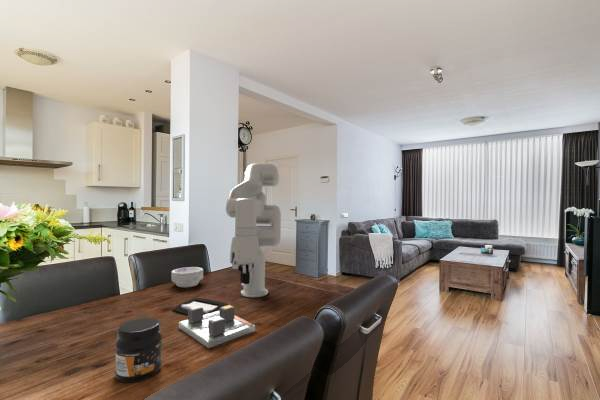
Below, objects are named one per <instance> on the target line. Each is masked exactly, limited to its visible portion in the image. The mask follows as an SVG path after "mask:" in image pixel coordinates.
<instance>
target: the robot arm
mask: <svg viewBox="0 0 600 400" xmlns="http://www.w3.org/2000/svg"><path fill="white" fill-rule="evenodd" d="M279 182H280V173H279V170H278V167H277V166H276V165H275V164H272V163H251V164H249V165H248V166H247V167H246V168H245V171H244V173H243V181H242V182H241V183H239V184H238V185H236V186H235V187H233V188H232V189H231V190H230V192H229V194H228V196H227V200H226V205H225V211H226V214H227V216H228V217H229V218H234V236H232V240H231V244H230V251H229V253H230V254H229V262H230V264H231V268H232V269H235V270H237V271H238V273H240V277H239V278H240V283H241V284H240V285H241V287H243V289H241V290H240V295H241V296H242V297H245V298H260V297H261V298H262V297H264V296H267V295H268V294H269V290H268V288H266V286H265V285H266V254H265V253H264V251H263V250H262V249H261V247H277V246H279V244H280V242H281V229H282V228H281V226H282V225H281V224H282V221H281V220H282V217H281V216H282V214H281V213H282V212H281V209H280V206H278V205H275V204H267V197H266V195H265V193H264V192H263V191H262V190H263V187H277V185H278V184H279Z"/></svg>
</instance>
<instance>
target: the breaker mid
mask: <svg viewBox="0 0 600 400" xmlns="http://www.w3.org/2000/svg"><path fill="white" fill-rule="evenodd" d="M234 315H235V307H234V306H232V305H230V304H228V305H227V306H224V307H221V308H220V317H221V318H223V319H225V322H227V321H230V320H233V319H234Z"/></svg>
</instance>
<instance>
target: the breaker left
mask: <svg viewBox="0 0 600 400" xmlns="http://www.w3.org/2000/svg"><path fill="white" fill-rule="evenodd" d="M187 320H188V321H190V322H191V323H193V322H197V321H200V320H203V308H202V307H200V306H194V307H190V308H189V309H188V316H187Z"/></svg>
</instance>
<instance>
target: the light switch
mask: <svg viewBox="0 0 600 400" xmlns="http://www.w3.org/2000/svg"><path fill="white" fill-rule="evenodd" d="M227 305H229V304H228V303H226V302H222V301H219V300H212V299H206V298H201V297H193V298H190V299H189V300H186V301H183V302H181V303H180V304H178V305H176V306H175V307H173V308H172V312H173V313H176V314H180V315H182V316H183V315H184V316H187V317H188V309H189V308H190V307H194V306H200V307H202V308H203V315H206V314H209V313H213V312H216V311H220V308H221V307H224V306H227Z"/></svg>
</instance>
